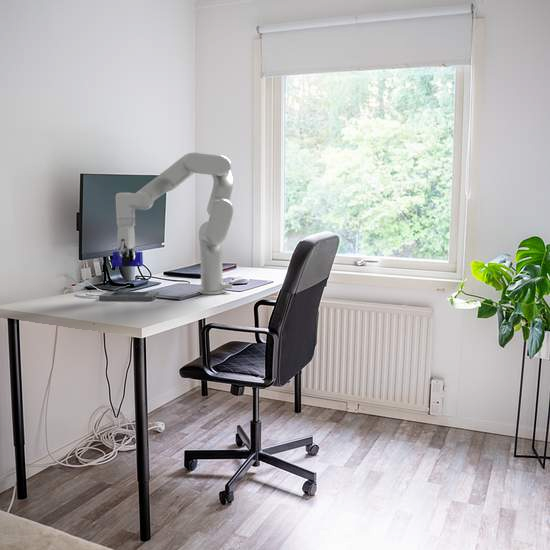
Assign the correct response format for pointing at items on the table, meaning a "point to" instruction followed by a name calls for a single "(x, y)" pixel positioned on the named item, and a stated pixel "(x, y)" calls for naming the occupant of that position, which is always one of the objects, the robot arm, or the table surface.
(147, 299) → the dark grey flat slab
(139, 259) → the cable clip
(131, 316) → the table surface
